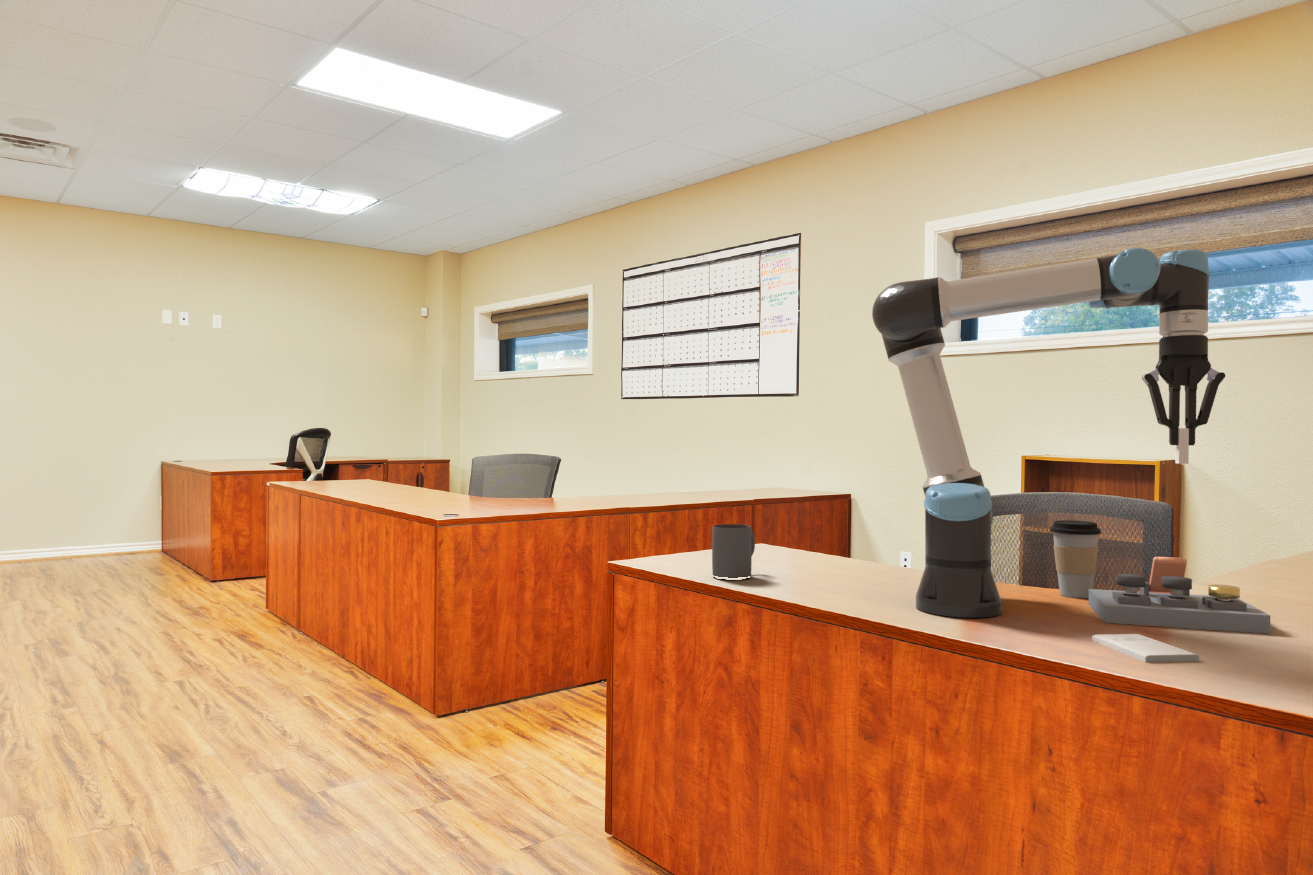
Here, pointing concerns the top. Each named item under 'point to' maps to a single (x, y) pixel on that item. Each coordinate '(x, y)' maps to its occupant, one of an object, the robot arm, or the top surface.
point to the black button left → (1131, 582)
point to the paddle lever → (1165, 571)
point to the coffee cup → (1075, 556)
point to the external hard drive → (1144, 648)
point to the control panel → (1177, 611)
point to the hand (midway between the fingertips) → (1181, 463)
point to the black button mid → (1176, 584)
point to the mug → (732, 550)
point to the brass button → (1224, 592)
